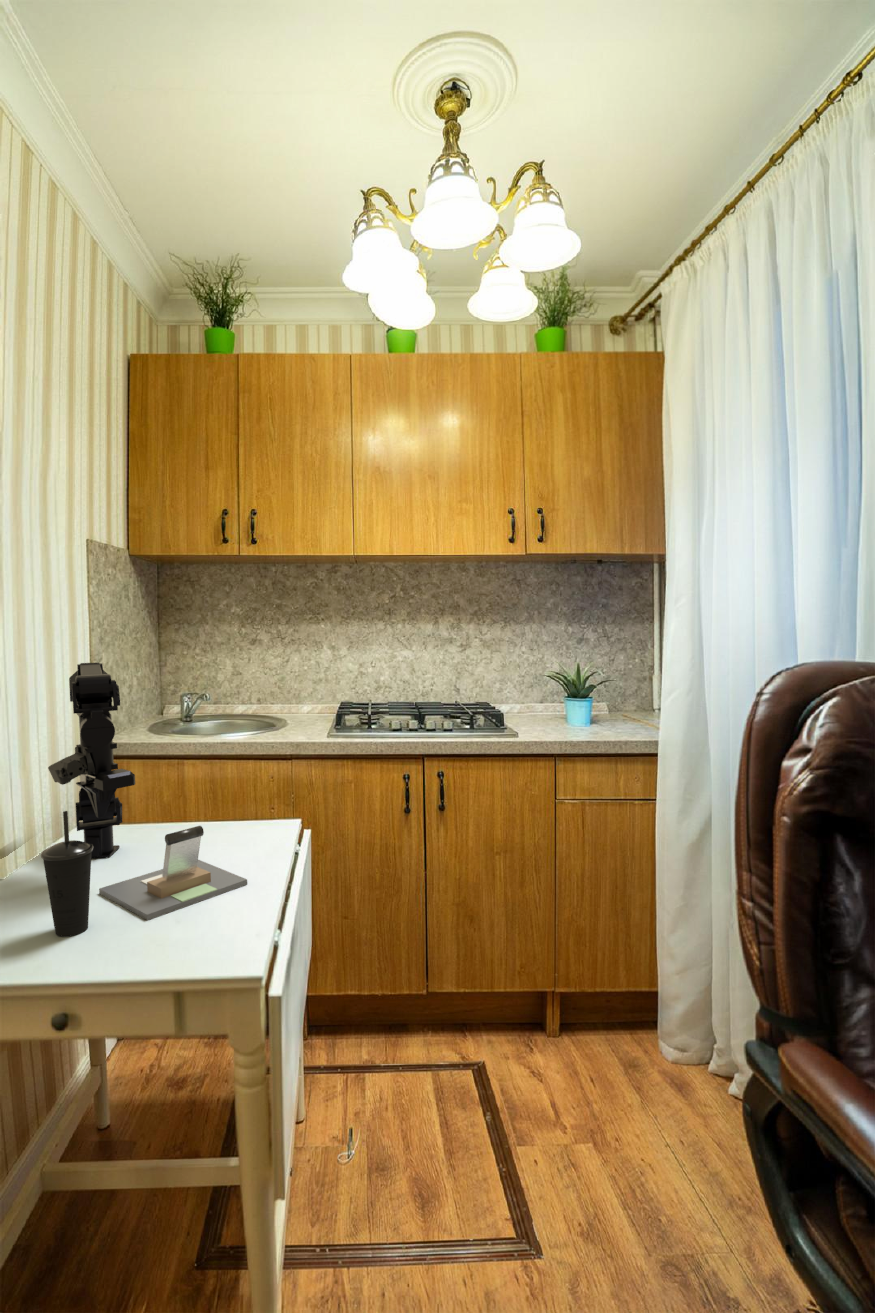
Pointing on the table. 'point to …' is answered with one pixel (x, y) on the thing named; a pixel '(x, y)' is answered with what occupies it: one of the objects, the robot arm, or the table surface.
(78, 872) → the drinking cup
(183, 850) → the bench scraper
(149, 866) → the table surface
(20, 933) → the table surface
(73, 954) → the table surface
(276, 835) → the table surface
